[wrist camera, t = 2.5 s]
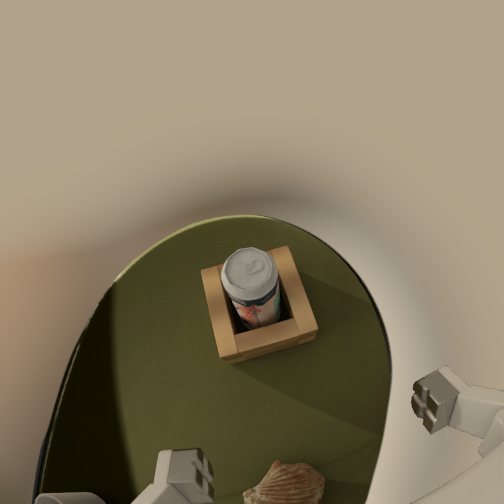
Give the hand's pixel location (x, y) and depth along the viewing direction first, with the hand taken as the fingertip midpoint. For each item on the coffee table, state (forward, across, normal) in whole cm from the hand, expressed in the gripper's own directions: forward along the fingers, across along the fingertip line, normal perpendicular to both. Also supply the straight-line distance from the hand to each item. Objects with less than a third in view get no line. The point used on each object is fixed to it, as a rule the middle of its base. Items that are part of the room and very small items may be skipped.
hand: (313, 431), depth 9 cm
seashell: (+9, +3, +22) cm, 25 cm away
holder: (+24, +1, +7) cm, 25 cm away
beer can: (+24, +1, +7) cm, 26 cm away
